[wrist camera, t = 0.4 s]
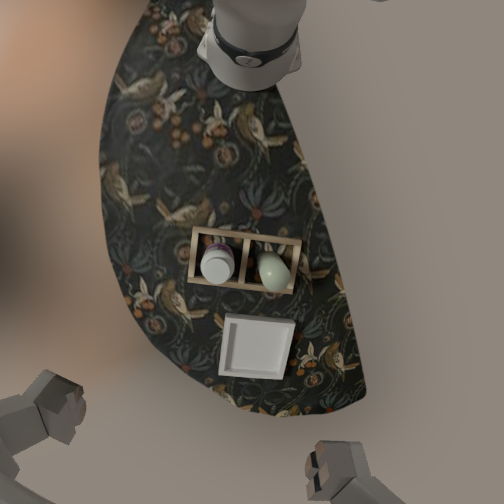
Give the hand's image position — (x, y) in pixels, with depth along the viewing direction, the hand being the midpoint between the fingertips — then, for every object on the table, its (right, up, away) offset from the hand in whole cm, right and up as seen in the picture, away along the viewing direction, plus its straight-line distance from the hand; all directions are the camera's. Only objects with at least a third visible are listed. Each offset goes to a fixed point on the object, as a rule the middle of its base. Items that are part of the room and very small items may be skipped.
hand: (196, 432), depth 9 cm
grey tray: (+2, -13, +50) cm, 52 cm away
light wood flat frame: (0, +4, +46) cm, 46 cm away
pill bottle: (-4, +5, +46) cm, 46 cm away
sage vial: (+5, +4, +47) cm, 47 cm away
